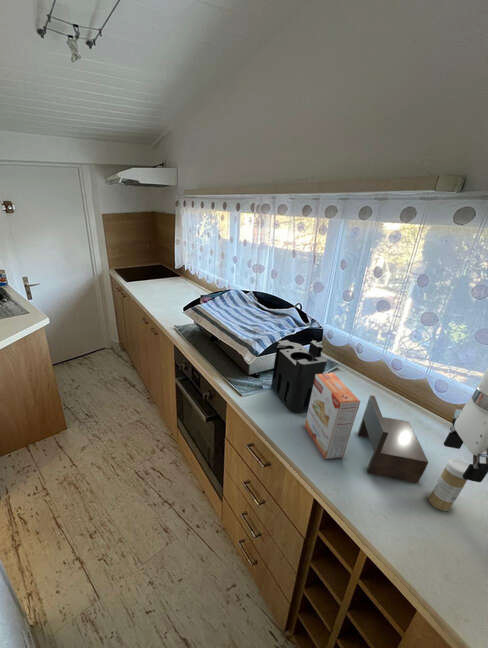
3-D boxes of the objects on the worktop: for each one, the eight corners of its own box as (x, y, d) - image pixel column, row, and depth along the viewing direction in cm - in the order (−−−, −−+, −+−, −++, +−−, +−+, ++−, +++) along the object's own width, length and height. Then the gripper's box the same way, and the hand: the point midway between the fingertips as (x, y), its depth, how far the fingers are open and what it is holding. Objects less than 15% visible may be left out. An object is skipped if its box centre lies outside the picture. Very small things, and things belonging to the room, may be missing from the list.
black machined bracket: (292, 415, 105) (302, 360, 94) (265, 382, 123) (271, 333, 112) (322, 410, 107) (336, 355, 97) (292, 378, 125) (300, 329, 114)
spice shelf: (400, 441, 94) (417, 402, 87) (417, 483, 80) (439, 441, 73) (357, 433, 97) (370, 395, 90) (367, 473, 84) (383, 431, 76)
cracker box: (302, 426, 100) (314, 372, 90) (320, 425, 100) (334, 371, 90) (323, 460, 88) (339, 401, 78) (343, 458, 88) (362, 400, 78)
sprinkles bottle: (440, 494, 77) (462, 456, 71) (455, 511, 73) (479, 472, 67) (423, 495, 77) (443, 457, 71) (437, 512, 73) (460, 473, 67)
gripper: (552, 435, 52) (502, 499, 60) (496, 381, 67) (462, 439, 75) (499, 426, 54) (458, 489, 62) (456, 375, 69) (427, 432, 77)
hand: (460, 462), depth 69 cm, fingers open, 9 cm apart
